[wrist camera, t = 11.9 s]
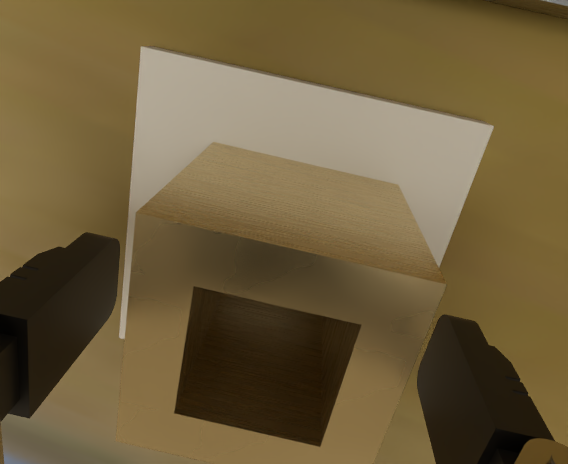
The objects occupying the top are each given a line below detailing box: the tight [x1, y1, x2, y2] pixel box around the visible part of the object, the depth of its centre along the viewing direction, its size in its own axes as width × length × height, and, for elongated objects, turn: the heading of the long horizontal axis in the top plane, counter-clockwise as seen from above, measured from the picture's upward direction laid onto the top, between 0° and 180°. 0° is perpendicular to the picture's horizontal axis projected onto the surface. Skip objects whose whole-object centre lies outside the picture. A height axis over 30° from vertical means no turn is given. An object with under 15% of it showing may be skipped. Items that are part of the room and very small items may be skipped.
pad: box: [119, 46, 494, 339], centre depth 15 cm, size 10×10×1 cm
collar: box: [116, 142, 447, 464], centre depth 12 cm, size 6×6×6 cm
